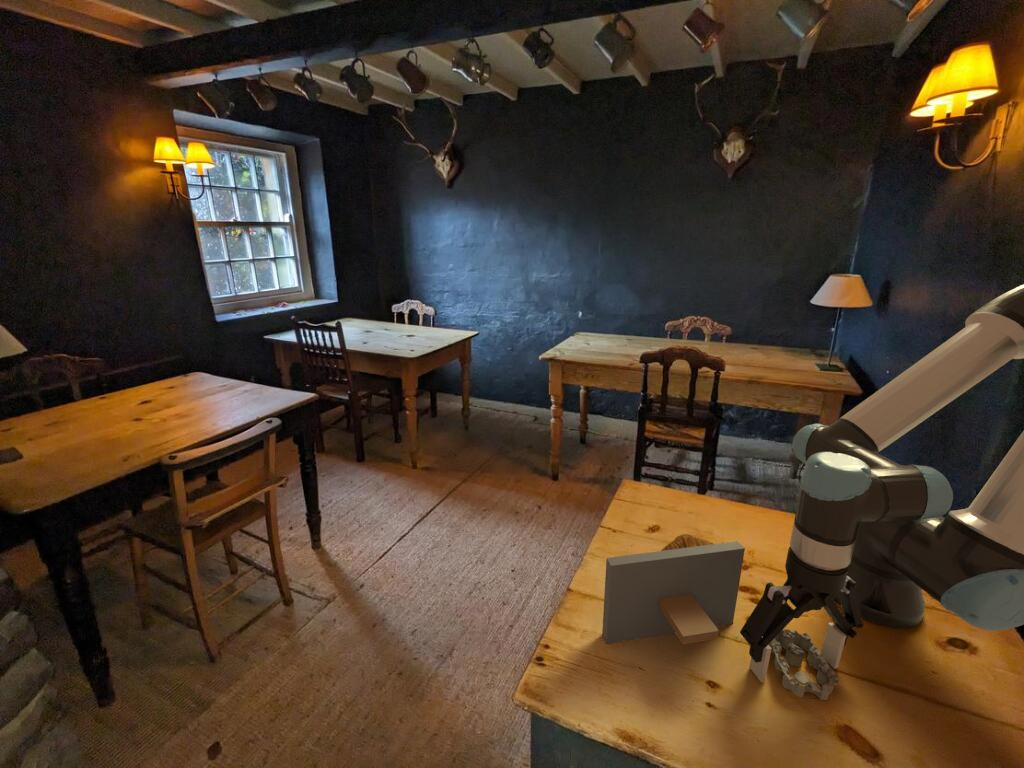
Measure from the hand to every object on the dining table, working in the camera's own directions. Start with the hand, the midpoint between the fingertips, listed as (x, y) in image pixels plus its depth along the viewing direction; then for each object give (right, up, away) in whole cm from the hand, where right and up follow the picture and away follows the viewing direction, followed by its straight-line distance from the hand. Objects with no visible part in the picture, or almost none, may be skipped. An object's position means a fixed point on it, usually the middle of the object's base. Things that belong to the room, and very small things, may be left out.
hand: (793, 667), depth 74 cm
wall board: (-17, +1, +4) cm, 17 cm away
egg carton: (0, -1, 0) cm, 1 cm away
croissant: (-7, +8, +27) cm, 29 cm away
